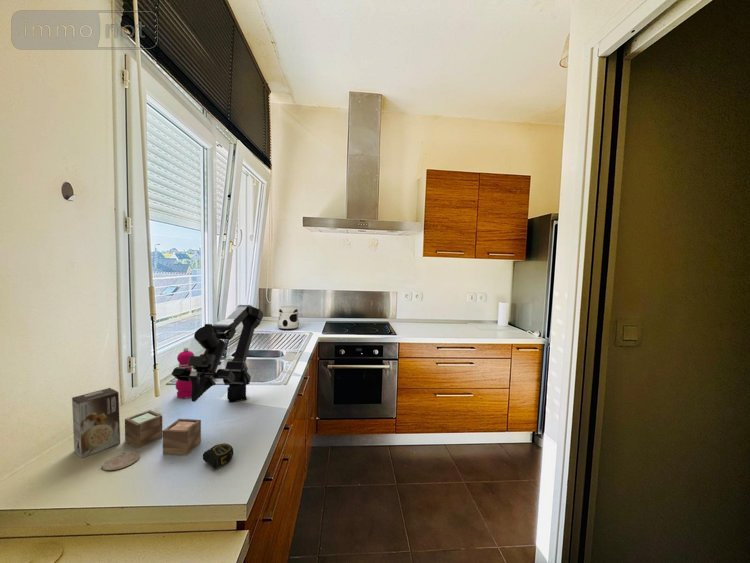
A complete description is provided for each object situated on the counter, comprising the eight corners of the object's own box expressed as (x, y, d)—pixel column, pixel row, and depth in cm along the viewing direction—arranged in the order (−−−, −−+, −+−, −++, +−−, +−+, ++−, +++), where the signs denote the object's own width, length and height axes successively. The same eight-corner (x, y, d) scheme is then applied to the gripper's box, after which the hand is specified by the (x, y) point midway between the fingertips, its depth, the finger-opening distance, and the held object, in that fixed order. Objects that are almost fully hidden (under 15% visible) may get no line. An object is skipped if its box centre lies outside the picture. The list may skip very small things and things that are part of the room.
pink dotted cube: (180, 435, 96) (179, 421, 96) (195, 436, 96) (195, 421, 95) (169, 444, 91) (168, 429, 91) (185, 445, 91) (185, 430, 91)
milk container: (273, 328, 260) (274, 306, 259) (292, 325, 271) (293, 305, 270) (283, 331, 247) (283, 309, 246) (302, 329, 259) (303, 307, 258)
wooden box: (178, 440, 97) (178, 418, 97) (200, 441, 97) (200, 419, 96) (162, 454, 90) (162, 430, 90) (186, 455, 90) (186, 432, 89)
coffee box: (112, 436, 98) (111, 386, 97) (120, 443, 94) (120, 391, 94) (72, 451, 90) (71, 397, 89) (80, 459, 87) (79, 403, 86)
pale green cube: (148, 426, 100) (148, 412, 100) (156, 430, 98) (156, 416, 98) (131, 433, 96) (130, 419, 96) (139, 438, 94) (139, 423, 94)
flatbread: (135, 450, 92) (135, 447, 92) (142, 462, 87) (142, 458, 87) (99, 463, 85) (98, 460, 85) (104, 476, 81) (104, 473, 80)
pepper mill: (171, 396, 127) (171, 348, 126) (189, 390, 134) (189, 344, 133) (182, 400, 124) (182, 351, 123) (199, 393, 130) (199, 346, 129)
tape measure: (201, 463, 87) (201, 450, 87) (225, 451, 93) (225, 439, 92) (213, 473, 83) (213, 460, 83) (237, 461, 88) (237, 448, 88)
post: (150, 430, 102) (149, 409, 101) (162, 436, 99) (162, 415, 98) (125, 441, 96) (124, 419, 95) (137, 448, 92) (137, 425, 92)
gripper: (174, 343, 102) (149, 390, 92) (230, 345, 101) (211, 393, 91) (190, 358, 111) (169, 403, 100) (241, 361, 110) (225, 406, 100)
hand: (193, 401), depth 98 cm, fingers closed
